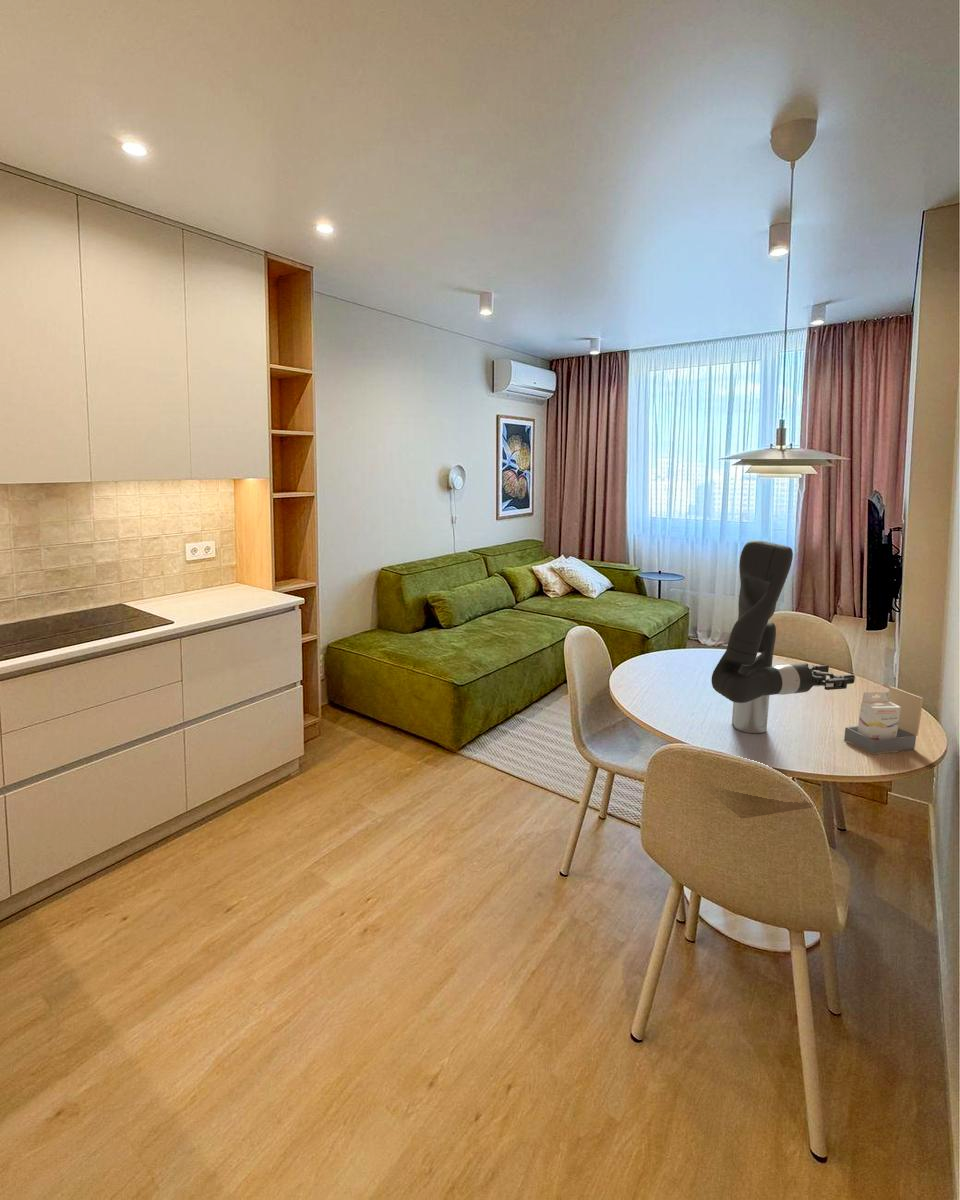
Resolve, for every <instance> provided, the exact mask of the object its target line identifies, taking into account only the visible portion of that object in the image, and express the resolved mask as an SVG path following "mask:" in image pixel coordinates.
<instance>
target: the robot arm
mask: <svg viewBox="0 0 960 1200" xmlns="http://www.w3.org/2000/svg"><path fill="white" fill-rule="evenodd" d="M793 556H794V554H793V549H792V548H791V547H790V546H787V545H783V544H779V543H774V542H769V541H764V540H758V539H753V540H751V539H750V540H749V541H748V542H746V544H744V546H743V548H742V549H741V553H740V557H739V579H740V581H739V582H740V586H739V587H740V588H739V594H738V595H739V596H738V607H737V609H738V614H737V615H738V616H737V617H738V618H737V620H736V622H735V623H734V624H733V627H732V628H731V629H732V630H731V633H730V635H729V639H728V641H727V645H726V648H725V649H726V650H725V652H724V653H723V655H722V656H721V658H720V660H719V661H718V663H717V664H716V666H715V667H714V669H713V671H712V674H711V686H712V688H713V689H714V691H715V692H717V693H718V694H720V695H721V696H723V697H724V698H726V699H727V700H729V701H730V702H733V703H732V705H733V706H732V715H731V716H732V717H731V724H733V727H734V728H735V729H736V730H738V731H741V732H744V733H748V734H762V733H763V734H764V733H766V732H767V729H768V718H769V704H770V696H773V695H774V696H775V695H780V696H781V695H791V694H800V693H801V694H802V693H808V692H809V691H810V690H811V689H812V688H813V687H824V690H826V691H832V690H834V691H835V690H843V689H844V690H845V689H847V687H848V685H851V684H854V683H855V681H856V676H855V675H854V674H852V673H851V674H844V675H843V674H841V675H840V674H839V675H837V674H834V673H833V672H830V671H829V668H830V666H829V665H827V664H821V665H815V664H810V665H809V663H807V662H803V663H802V662H797V663H786V664H778V665H777V664H776V665H773V658H774V653H775V652H774V651H775V645H776V637H777V628H776V624H775V622H773V621H769V620H770V619H771V618H772V617H773V615H774V614H775V611H776V607H777V606H776V605H777V603H778V600H779V599H780V598H779V597H780V596H781V593H782V590H783V588H784V586H785V583H786V580H787V579H788V575H789V573H790V570H791V566H792V563H793ZM758 653H760V654H759V655H758ZM827 676H828V678H827Z"/></svg>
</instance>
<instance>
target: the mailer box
mask: <svg viewBox="0 0 960 1200" xmlns="http://www.w3.org/2000/svg"><path fill="white" fill-rule="evenodd" d="M888 691H889V692H890V696H889V702H891V703H893V704H895V705H898V706H900V707H901V710H900V716H899V723H898V730H897V736H896V738H890V739H882V740H873V739H871V738H869V737H867V736H865V735H862V734H860V733H858V732H857V731H858V725H855V726H846V727H845V730H844V739H843V740H844V742H847V743H848V744H850V745H852V746H855V748H856V747H857V748H858V749H860V750H862V751H864V752H866V753H868V754H871V755H873V756H875V755H876V756H877V755H884V754H891V753H899V752H904V751H912V750H913V751H914V750H915V747H916V741H917V740H916V739H917V737H918V736H919V730H920V726H921V725H920V723H921V719H922V718H921V717H922V708H923V702H924V697H921V696H918V695H916V694H913V693H911V692H908V691H904V690H903V689H900V688H898V687H894V686H889V689H888Z"/></svg>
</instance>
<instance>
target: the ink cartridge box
mask: <svg viewBox="0 0 960 1200" xmlns="http://www.w3.org/2000/svg"><path fill="white" fill-rule="evenodd" d="M873 696H876V697H873ZM877 696H880V697H877ZM889 696H890V692H889V690H888V691H864V692H863V694H862V698H861V699H862V700H861V702H860V709H859V717H858V725H857V726H858V731H857V732H858V733H860V734H862V735H865V736H867V737H869V738H871V739H873V740H882V739H890V738H896V736H897V730H898V723H899V716H900V710H901V707H900V706H898V705H895V704H893V703H891V702H889Z"/></svg>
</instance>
